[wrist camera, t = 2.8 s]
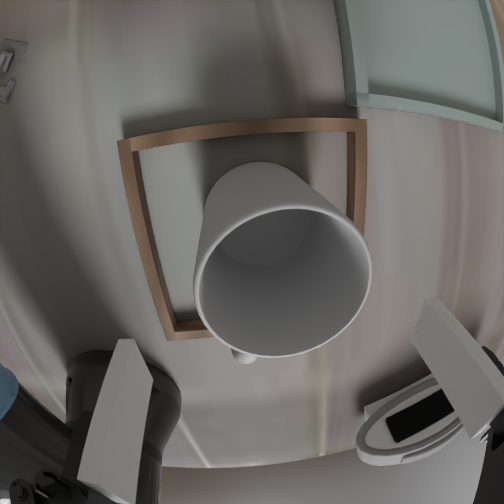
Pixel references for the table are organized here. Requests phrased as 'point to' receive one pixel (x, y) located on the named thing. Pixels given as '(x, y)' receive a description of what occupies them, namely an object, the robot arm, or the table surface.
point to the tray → (423, 58)
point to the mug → (277, 264)
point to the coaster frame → (131, 145)
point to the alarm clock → (408, 425)
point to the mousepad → (3, 61)
